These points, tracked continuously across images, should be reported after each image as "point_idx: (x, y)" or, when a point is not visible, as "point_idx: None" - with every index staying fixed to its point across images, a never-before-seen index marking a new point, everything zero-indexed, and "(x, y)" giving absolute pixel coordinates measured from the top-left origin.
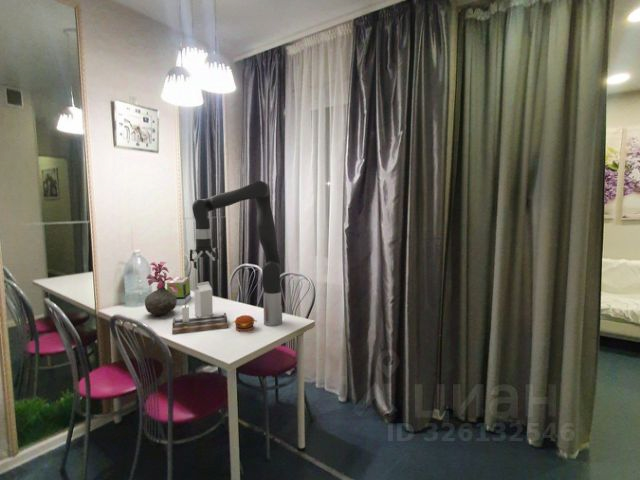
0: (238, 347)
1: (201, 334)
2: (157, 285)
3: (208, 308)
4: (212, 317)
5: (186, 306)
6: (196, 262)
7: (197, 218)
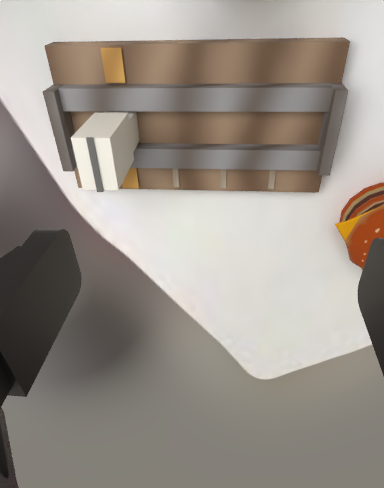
0: (300, 335)
1: (199, 217)
2: None
3: None
4: (259, 110)
5: (102, 169)
6: (27, 392)
7: None
